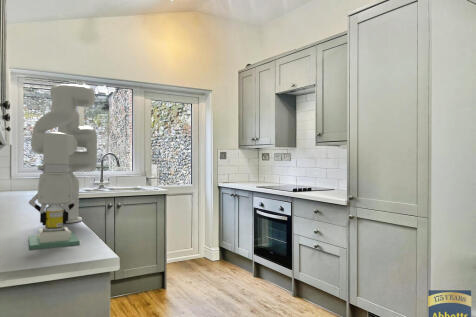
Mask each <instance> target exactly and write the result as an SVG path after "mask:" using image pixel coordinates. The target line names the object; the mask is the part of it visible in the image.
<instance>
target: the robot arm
mask: <svg viewBox="0 0 476 317" xmlns="http://www.w3.org/2000/svg"><path fill="white" fill-rule="evenodd" d="M49 92H50V98H51V107H50V111H48V112H46V113H45V114H44V115H42V116H41V117H40V118H39V119H38V120H37V121H36V122H35V124H34V125H33V129H32V134H31V139H30V140H31V141H30V144H31V145H30V146H31V150H32V151H33V152H34V153H35V154H37V155H42V156H43V158H42V165H38V166H37V170H38V171H42V173H40V174H39V178H38V184H37V193H36V194H35V195H33V197H32V198H31V199H30V200H29V201H28V204H29V205H30V206H32V207H33V208H34V209H35V210H36V211H38V213H40V215H39V216H40V217H39V219H40V220H39V222H40V224H41V223H42V226H45V219H46V213H45V209H46V207H47V205H48V204H61V206H62V207H63V225H66V224H72V223H73V224H74V223H78V222H81V221H83V218H82V217H81V216H79V207H80V206H79V205H80V204H79V202H80V180H79V178H78V177H77V176H76V175H75V174H74V173H80V172H82V173H87V172H88V173H89V172H90V173H91V172H94V171H95V170H96V168H97V164H98V134H97V131H96V129H95V128H94V127H91V126H81V125H80V113H79V112H78V110H77V107H81V108H82V107H85V108H91V107H93V106H94V105H95V102H96V93H95V90H94V88H92V87H90V86H88V85H81V84H80V85H79V84H71V83H70V84H68V83H62V84H58V85H57V84H56V85H52V86H51V87H50V91H49ZM55 128H57V132H55V131H54V132H52V131H50V132H48V131H49V130H52V129H55ZM78 148H81V149H82V148H83V149H85V150H78ZM36 201H37V203H39V204H40V205H41V206H40V205H39V204H37V203H36Z"/></svg>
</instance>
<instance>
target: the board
mask: <svg viewBox="0 0 476 317" xmlns="http://www.w3.org/2000/svg"><path fill="white" fill-rule="evenodd" d="M28 246H29V250H38V249H40V250H41V249H49V248H58V247H72V246H80V240H79V238H78V237H77V235H76V233H74V231H71V230H69V228H68V227H67V226H63V229H61V230H56V231H47V230H45V227H44V228H38V234H34V235H28Z"/></svg>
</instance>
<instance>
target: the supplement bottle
mask: <svg viewBox="0 0 476 317" xmlns="http://www.w3.org/2000/svg"><path fill="white" fill-rule="evenodd" d="M47 205H48V206H46V208H45V210H44V211H45V213H46V219H45V225H44V228H45V230H47V231H56V230H61V229H63V227H64V224H63V207H62V206H61V204H47Z"/></svg>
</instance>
